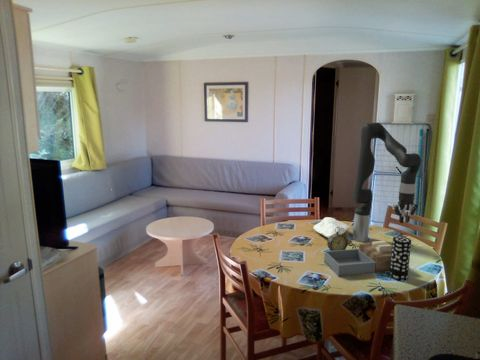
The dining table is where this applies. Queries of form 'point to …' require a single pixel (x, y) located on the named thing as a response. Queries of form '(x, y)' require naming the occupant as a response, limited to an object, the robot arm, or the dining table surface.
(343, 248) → the alarm clock
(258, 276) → the dining table surface
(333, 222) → the crumpled cloth
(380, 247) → the wooden tile
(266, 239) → the dining table surface
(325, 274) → the dining table surface
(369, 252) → the block
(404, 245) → the white-spotted black cylinder
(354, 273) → the box
